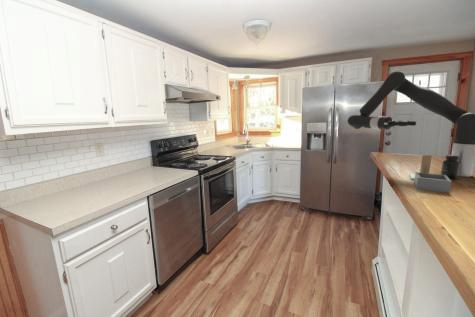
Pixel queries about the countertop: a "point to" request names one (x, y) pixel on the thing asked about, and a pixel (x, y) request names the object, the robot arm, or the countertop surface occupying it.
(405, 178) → the countertop surface
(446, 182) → the storage box
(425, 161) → the peg on green base
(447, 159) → the supplement bottle
